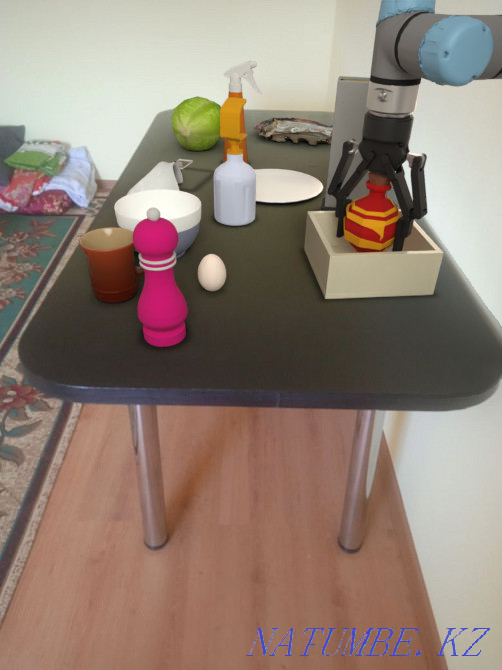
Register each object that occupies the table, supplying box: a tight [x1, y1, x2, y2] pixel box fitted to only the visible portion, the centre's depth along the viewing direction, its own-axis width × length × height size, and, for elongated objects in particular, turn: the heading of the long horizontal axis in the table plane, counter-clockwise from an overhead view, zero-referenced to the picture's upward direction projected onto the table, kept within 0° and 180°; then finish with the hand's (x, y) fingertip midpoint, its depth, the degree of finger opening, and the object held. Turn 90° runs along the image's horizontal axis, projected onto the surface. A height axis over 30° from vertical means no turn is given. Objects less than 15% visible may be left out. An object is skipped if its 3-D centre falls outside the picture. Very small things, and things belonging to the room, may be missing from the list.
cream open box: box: [303, 208, 445, 300], centre depth 93 cm, size 19×19×8 cm
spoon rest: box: [126, 160, 184, 195], centre depth 120 cm, size 24×12×7 cm, turn 173°
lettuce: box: [171, 95, 222, 152], centre depth 155 cm, size 15×23×16 cm
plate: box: [254, 168, 324, 205], centre depth 131 cm, size 25×25×1 cm
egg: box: [197, 253, 227, 292], centre depth 87 cm, size 5×5×7 cm
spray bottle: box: [222, 60, 263, 164], centre depth 140 cm, size 7×11×26 cm, turn 72°
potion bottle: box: [344, 172, 400, 253], centre depth 90 cm, size 10×10×15 cm
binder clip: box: [173, 158, 194, 177], centre depth 135 cm, size 6×4×6 cm, turn 163°
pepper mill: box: [133, 208, 189, 348], centre depth 72 cm, size 7×7×20 cm
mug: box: [78, 226, 145, 304], centre depth 85 cm, size 12×9×10 cm
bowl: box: [113, 189, 202, 260], centre depth 98 cm, size 16×16×10 cm
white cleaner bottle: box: [213, 97, 257, 227], centre depth 108 cm, size 9×9×25 cm
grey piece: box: [253, 117, 333, 146], centre depth 169 cm, size 30×22×5 cm
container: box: [320, 75, 390, 211], centre depth 109 cm, size 7×18×30 cm, turn 80°
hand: (368, 243), depth 92 cm, fingers closed on potion bottle, 10 cm apart
